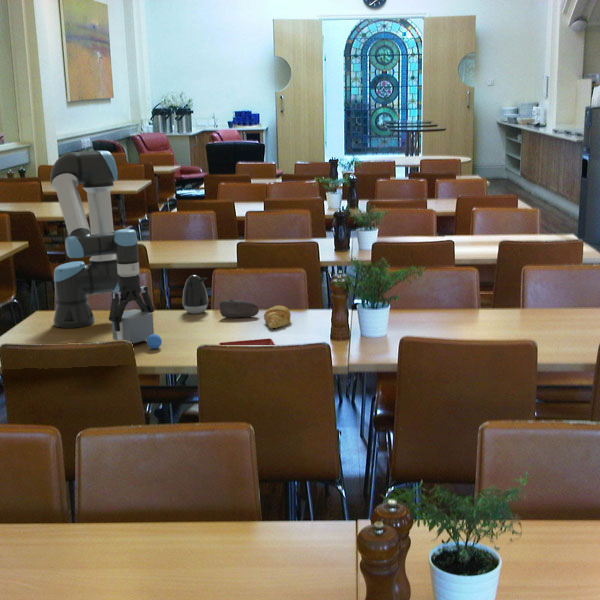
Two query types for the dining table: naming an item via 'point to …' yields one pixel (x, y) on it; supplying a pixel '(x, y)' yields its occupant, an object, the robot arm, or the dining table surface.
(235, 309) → the perforated stone tool
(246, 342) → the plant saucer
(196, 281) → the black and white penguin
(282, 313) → the croissant
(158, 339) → the ball
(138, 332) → the matte grey cube
